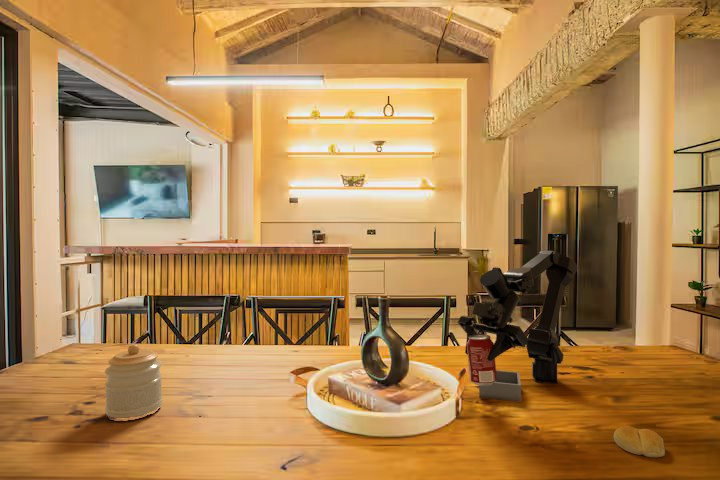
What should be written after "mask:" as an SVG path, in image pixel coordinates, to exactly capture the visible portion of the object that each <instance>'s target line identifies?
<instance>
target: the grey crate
mask: <svg viewBox="0 0 720 480" xmlns="http://www.w3.org/2000/svg"><path fill="white" fill-rule="evenodd" d="M496 376H497V381H496V382H495V383H493V384H492V385H488V386H480V385H478V387H479V388H478V389H479V391H478V392H479V393H478V395H479V396H478V398H481V399H483V398H484V399H491V400H499V401H500V400H501V401H509V402H518V403H521V402H522V384H521V378H520V377H521V376H520V371H509V370H500V369H499V370H497V369H496Z"/></svg>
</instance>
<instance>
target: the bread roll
mask: <svg viewBox="0 0 720 480" xmlns="http://www.w3.org/2000/svg"><path fill="white" fill-rule="evenodd" d="M613 440H614V443H615V444H616V445H617V447H619V448H621V450H625V451H626V452H629V453H632V454H635V455H638V456H639V455H642V456H645V457H647V458H661V457H664V456H665V455H666V449H665V443H664V439H663V438H662V436H660V435H659V434H658V433H657V432H655V431H654V430H651V429H649V428H642V429H640V428H639V429H637V428H636V427H633V426H630V425H623V426H620V427H618V428H617V429H616V430H615V431H614V433H613Z"/></svg>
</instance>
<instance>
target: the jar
mask: <svg viewBox="0 0 720 480" xmlns="http://www.w3.org/2000/svg"><path fill="white" fill-rule="evenodd" d="M158 356H159V353H158V352H156V351H155V352H154V351H153V350H151V349H149V348H140V346H139V345H138V344H135V343H133V344H130V345H129V346H128V348H127V350H124V351H121V352H118V353H116V354H115V355H114V356H113V357H111V358H109V360H108V361H107V362H108V364H109V366H108V367H107V368H106V369H105V370H104V374H105V375H106V377H107V379H106V381H105V382H104V387H105V404H106V406H105V414H106V416H107V415H108V416H110V417H114V418H130V417H137V416H142V415H144V414H147V413H149V412H152V411H154V410H156V409H157V408H158V407H160V406H161V407H162V404H163V396H162V378H163V375H162V373H161V370H160V367H161V366H162V361H161V360H159V359H157V358H158Z"/></svg>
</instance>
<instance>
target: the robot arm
mask: <svg viewBox="0 0 720 480" xmlns="http://www.w3.org/2000/svg"><path fill="white" fill-rule="evenodd" d="M577 271H578V265H577V262H576V261H574V259H573V258H570V257H568V256H565V255H562V254H561V253H559V252H558V251H556V250H541V251H539V252H538V254H537V255H536V256H534V257H533V258H532V259H530V260H529V261H528V262H526V263H525V264H524V265H522V266H520V267H518V268H513V269H509V270H507V271H505V272H504V273H503V271H502V269H501V267H498V266H494V267H492V269H491V270H488V271H486V272H484V273H483V274H482V275H481V277H480V278H479V282H480V284H481V286H482V287H483V288H484V290H485V291H486V293H487V294H488V295H489V296H490V298H492V299H494V300H493V302H492V304H489V303H483V302H478V301H475V302H474V304H473V308H472V312H471V314H472V315H475V316H478V319H479V321H480V322H482V323H478V321H477V320H476V319H475V317H474V316H467V315H461V316H460V317H459V319H458V320H457V323H458V324H459V327H460V328H461V329H462V330H463V331H464V332H465V333H466V344H465V352H464V353H465V354H466V355H467V356H468V351H467V342H468V341H469V336H472V335H480V333H481V332H484V333H488V334H491V335H496V337H495V341H494V342H493V343H494V345H493V347H492V349H491V351H490V353H489V355H488V358H487V359H488V360H489V361H492V360H493V359H494V358H495V359H496V358H497V357H499V356H501V355H502V354H503V353H505V352H507V351H509V350H510V349H515V348H516V347H521V348H525V347H526V351H527V355H528V359H533V361H532V362H531V376H532V378H533V379H534V382H537V383H548V384H558V385H559V380H558V365H559V364H561V365H562V362H563V361H564V353H563V352H562V350H561V348H560V347H559V338H558V336H557V333H556V327H557V324H558V320H559V315H560V311H561V307H562V302H563V299H564V295H565V291H566V287H567V286H569V284H570V283H571V282H572V281H573V280H574V277H575V274H576V273H577ZM544 272H545V276H546V279H547V280H548V284H547V289H546V292H545V296H544V299H543V300H544V301H543V304H542V309H541V312H540V317H539V321H538V324H537V325H536V326H535V328H530V329H529V331H528V336H527V335H526V333H525V332H524V330H523V329H522V328H521V326H519V325H515V324H509V323H512V322H513V318H512V315H513V313H514V311H515V309H516V307H522V306H523V303H522V301H521V296H519V295H518V294H517V293H519V294H527V293H528V292H529V291H530V290H531V289H532V288H533V286H534V280H535V279H536V278H538V277H539V276H540V275H541V274H543V273H544Z"/></svg>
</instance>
